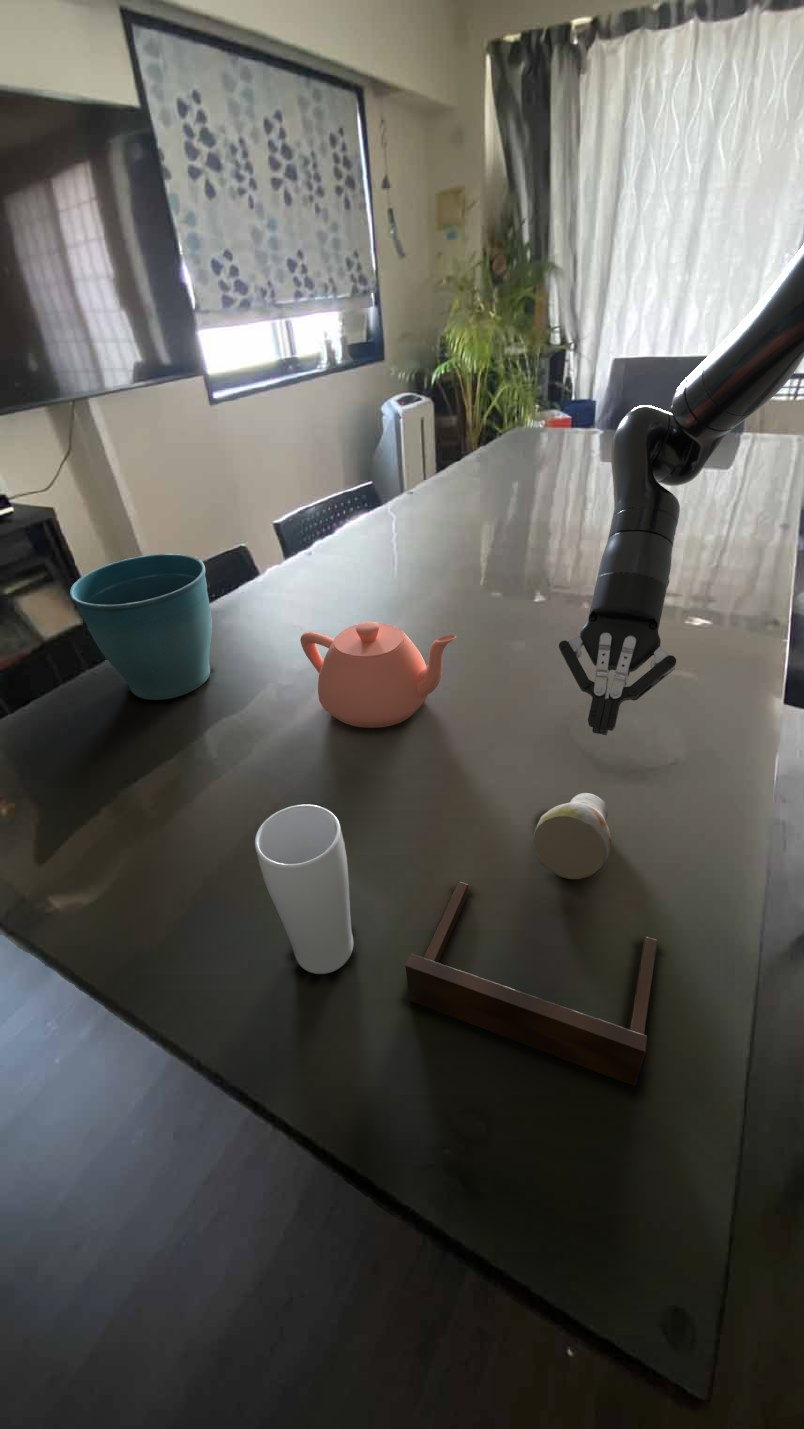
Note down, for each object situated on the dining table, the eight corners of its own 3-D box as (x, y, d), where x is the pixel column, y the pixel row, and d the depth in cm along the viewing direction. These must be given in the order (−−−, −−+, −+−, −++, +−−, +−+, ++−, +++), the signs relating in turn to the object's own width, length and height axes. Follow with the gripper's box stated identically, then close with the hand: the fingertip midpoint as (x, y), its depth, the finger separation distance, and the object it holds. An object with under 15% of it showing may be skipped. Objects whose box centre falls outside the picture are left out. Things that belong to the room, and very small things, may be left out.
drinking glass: (335, 997, 54) (307, 880, 45) (272, 965, 57) (234, 849, 48) (376, 935, 59) (358, 818, 50) (316, 908, 61) (289, 793, 53)
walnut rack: (654, 950, 55) (664, 913, 52) (635, 1086, 46) (645, 1052, 44) (458, 891, 62) (457, 855, 59) (409, 1000, 53) (405, 965, 50)
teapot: (472, 686, 91) (471, 608, 84) (441, 750, 80) (437, 666, 73) (332, 667, 98) (321, 594, 91) (286, 724, 87) (269, 645, 80)
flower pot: (172, 642, 109) (142, 546, 99) (255, 663, 101) (231, 560, 91) (85, 697, 96) (41, 593, 86) (172, 725, 89) (134, 614, 79)
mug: (622, 820, 68) (643, 793, 59) (581, 900, 65) (596, 884, 56) (558, 786, 70) (569, 755, 61) (516, 862, 68) (520, 841, 59)
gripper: (568, 563, 70) (534, 715, 68) (698, 575, 65) (665, 740, 63) (574, 588, 77) (543, 727, 75) (692, 601, 72) (662, 750, 70)
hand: (599, 732), depth 69 cm, fingers closed
